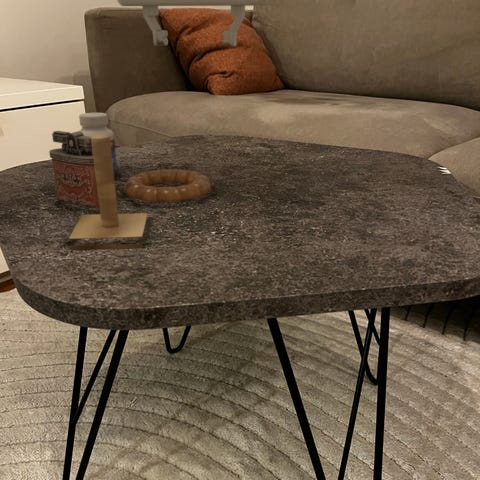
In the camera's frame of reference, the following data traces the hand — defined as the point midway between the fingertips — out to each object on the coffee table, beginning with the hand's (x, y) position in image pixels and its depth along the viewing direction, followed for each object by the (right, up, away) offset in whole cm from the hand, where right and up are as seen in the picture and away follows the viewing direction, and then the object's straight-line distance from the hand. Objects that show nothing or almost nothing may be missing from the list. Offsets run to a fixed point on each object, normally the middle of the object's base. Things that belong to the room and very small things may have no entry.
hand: (195, 45), depth 78 cm
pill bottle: (-16, -15, +13) cm, 25 cm away
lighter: (-15, -22, 0) cm, 26 cm away
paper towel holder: (-9, -26, -8) cm, 29 cm away
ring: (-4, -18, +4) cm, 19 cm away
